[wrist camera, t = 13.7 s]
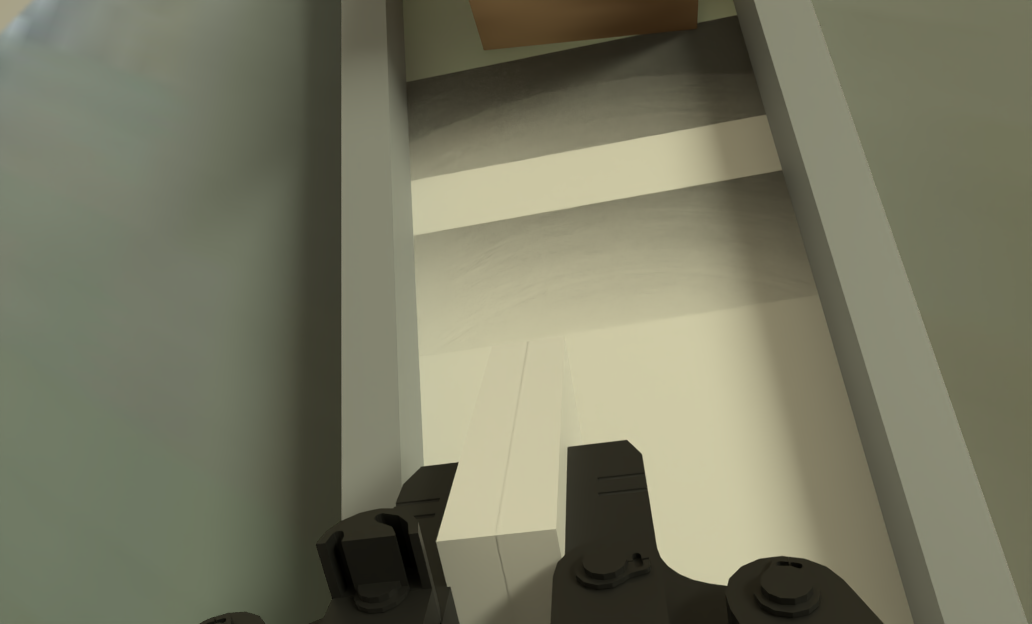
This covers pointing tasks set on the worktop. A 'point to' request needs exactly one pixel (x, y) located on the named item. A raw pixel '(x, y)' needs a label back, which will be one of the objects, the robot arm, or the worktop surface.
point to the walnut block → (576, 20)
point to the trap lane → (656, 290)
